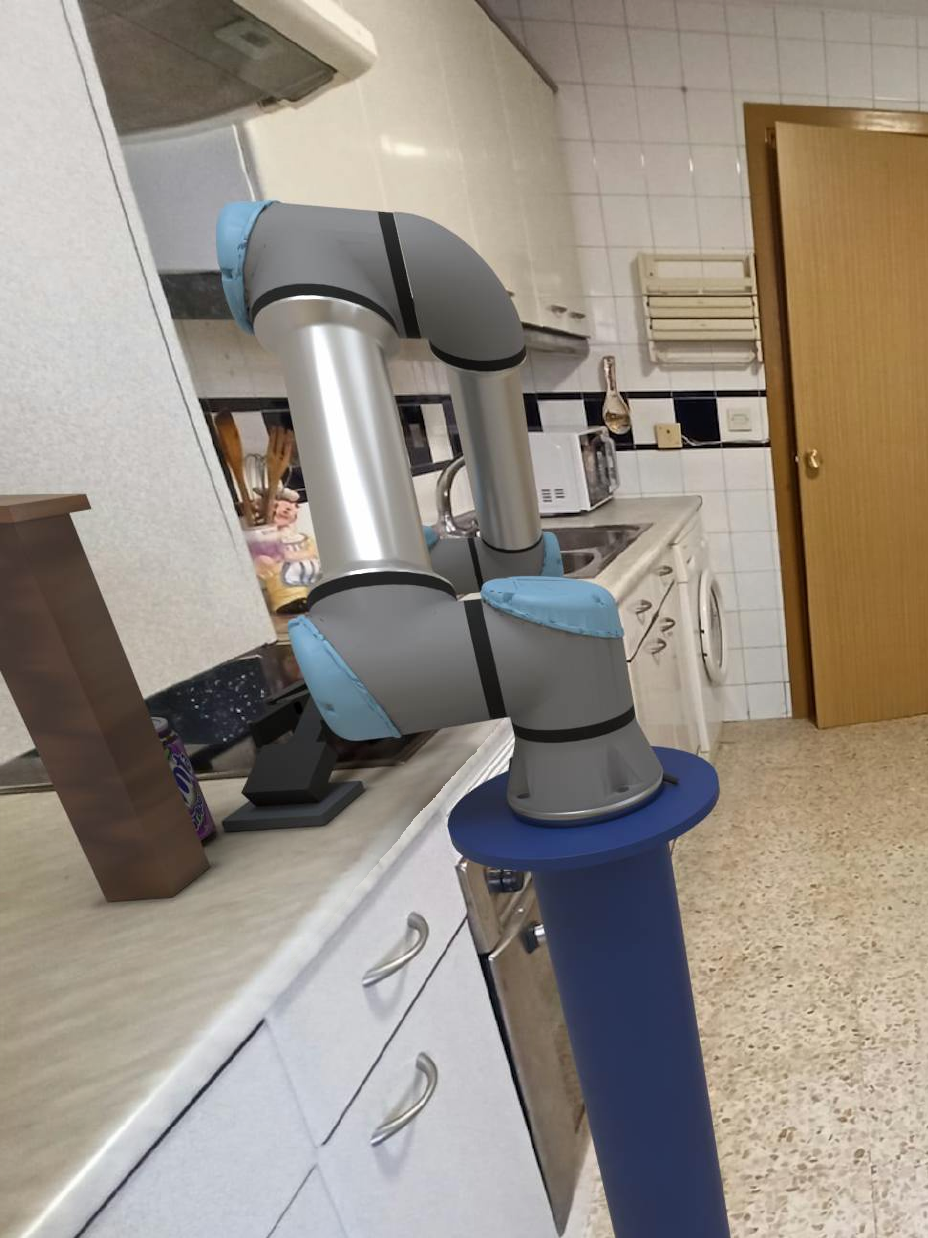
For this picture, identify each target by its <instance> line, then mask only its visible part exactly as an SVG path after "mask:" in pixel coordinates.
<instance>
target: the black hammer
mask: <svg viewBox="0 0 928 1238" xmlns="http://www.w3.org/2000/svg"><path fill="white" fill-rule="evenodd" d="M322 718H323V716H322V715H321V713H320V711H319V709H318V707H317V705H316V703H315V701H314V699H313V697H312V695H310V697H309V700H308V702H307V704H306V707H305V709H304V711H303V713H302V716H301V718H300V719H299V723H298V725H297V727H296V728H295V730H294V732H293V734H292V736H291V739H290V740H289V743H276V744H274V743H273V744H269V745H263V746H262V747H261V748H260V750H259V753H258V755H257V757H256V759H255V762H254V764H253V766H252V768H251V770H250V772H249V775H248V776H247V779H246V781H245V784H244V785H243V788H242V790H241V792H240V794H241V795H243V797H244V798H245V799H247V800H248V801H250V802H251V803H253V804H254V805H255V806H270V805H286V804H302V803H318V802H321V799H322V796H323V794H324V791H325V789H326V786H327V783H329V782H330V779H331V776H332V773H333V771H334V768H335V765H336V763H337V760H338V758H339V754H338V753H337V752H336V751H335V750H334V749H333V747H332V746H331V744H327V742H326V739H325V735H324V732H323V729H322V726H321V723H320V720H321V719H322Z"/></svg>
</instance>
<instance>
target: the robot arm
mask: <svg viewBox="0 0 928 1238" xmlns="http://www.w3.org/2000/svg"><path fill="white" fill-rule="evenodd" d="M215 247H216V257H217V263H218V267H219V269H220V272H221V283H222V288H223V293H224V295H225V298H226V302H227V304H228V308H229V310H230V312H231V315H232V317H233V319H234V320H235V322H236V324H237V325H238V327H239V328H240V329H241V330H242V331H244V333H247V334H249V335H252V336H255V337H256V341H257V342H258V344H259V345H260V346H261V347H262V349H263V350H264V351H265V352H267V353H268V354H269V355H270V356H271V357H273V358H275V359H276V360H277V361H279V362H280V365H281V372H282V375H283V376H282V377H283V381H284V385H285V390H286V397H287V402H288V406H289V411H290V412H289V413H290V418H291V422H292V426H293V432H294V437H295V443H296V447H297V453H298V457H299V462H300V468H301V472H302V478H303V483H304V487H305V488H304V489H305V493H306V499H307V503H308V508H309V513H310V519H311V523H312V529H313V533H314V534H313V535H314V538H315V545H316V549H317V550H316V551H317V554H318V559H319V564H320V565H319V566H320V569H321V575H322V578H320V579H319V580H318V581H317V582H316V583H314V584H313V585H312V586H311V587H310V588H309V589H308V590H307V592H306V596H305V597H306V605H307V612H308V615H305V614H299V615H298V616H297V617H293V618H290V619H289V620H288V622H287V630H288V638H289V642H290V645H291V649H292V652H293V654H294V657H295V660H296V662H297V665H298V668H299V671H300V673H301V676H302V677H303V678H302V679H300V680H298V681H296V682H294V683H293V684H290V685H288V686H287V687H285V688H282V689H281V690H278V691H277V692H275V693H273V694H271V695H269V696H267V697H265V698H263V699H262V700H261V701H262V704H263V707H264V710H265V713H263V714H261V715H260V716H257V717H256V718H254V719H253V720H251V721H249V722H247V726H248V728H249V732H250V734H251V737H252V740H253V742H254V745H255V748H256V749H258V748H260V749H261V748H262V746H263V745H271V744H272V743H273V742H275V741H276V740H278V739H279V738H282V737H283V736H284V735H285V734H288V733H289V732H290V731H292V730H294V729H296V727H297V725H298V723H299V720H300V718H301V716H302V713H303V711H304V709H305V707H306V704H307V702H308V700H309V697H310V695H312V697H313V699H314V701H315V703H316V705H317V707H318V709H319V711H320V713H321V715H322V716H323V718H322V719H321V720H320V723H321V726H322V729H323V732H324V735H325V739H326V742H327V744H329V745H335V744H338V742H339V741H341V740H342V739H344V740H348V741H354V742H355V741H356V742H358V741H368V740H375V739H383V738H392V737H393V738H395V739H400V738H402V737H403V736H404V735H410V734H417V733H422V732H429V731H435V730H440V729H447V728H453V727H459V726H464V725H465V726H466V725H471V724H476V723H482V722H488V721H494V720H500V719H506V718H507V719H508V718H509V719H510V723H511V727H512V731H513V736H514V743H513V749H512V756H511V757H509V760H508V761H509V762H508V769H507V771H509V770H510V769H511V770H510V776H509V783H508V791H507V798H508V802H509V806H510V811H511V814H512V815H513V817H514V818H516V819H517V820H518V821H520V822H522V823H524V824H527V825H531V826H535V827H541V828H553V829H565V828H578V827H586V826H592V825H597V824H602V823H606V822H609V821H613V820H616V819H619V818H622V817H625V816H628V815H630V814H632V813H635V812H637V811H639V810H641V809H643V808H644V807H646V806H648V805H649V804H651V803H652V802H653V801H654V800H656V799H657V798H658V797H659V796H660V794H661V793H662V792H663V790H664V787H665V782H668V783H671V784H674V785H677V784H678V781H679V778H676V777H673V776H670V775H667V774H664V773H663V769H662V766H661V764H660V762H659V760H658V758H657V756H656V754H655V753H654V751H653V749H652V747H651V746H652V745H651V743H650V742H649V740H648V738H647V736H646V735H645V733H644V731H643V729H642V727H641V725H640V724H639V722H638V719H637V715H636V707H635V703H634V696H633V689H632V685H631V679H630V673H629V667H628V660H627V654H626V648H625V643H624V636H625V633H626V632H625V628H624V627H623V625H622V622H621V618H620V617H621V616H620V614H619V608H618V605H617V601H616V599H615V597H614V595H613V594H612V593H611V592H610V590H608V589H607V588H605V587H604V586H602V585H599V584H597V583H594V582H591V581H588V580H582V579H577V578H568V577H564V576H565V572H564V571H565V570H564V565H563V559H562V557H563V556H562V553H561V548H560V544H559V541H558V538H557V535H556V534H555V533H553V532H552V531H543V529H542V521H541V515H540V506H539V501H538V494H537V486H536V479H535V473H534V472H535V471H534V464H533V458H532V457H533V456H532V450H531V443H530V437H529V429H528V422H527V414H526V408H525V401H524V394H523V385H522V380H521V373H520V367H521V366H522V365H524V363H525V361H526V360H527V354H528V353H527V345H526V338H525V333H524V328H523V323H522V321H521V318H520V314H519V312H518V310H517V308H516V306H515V303H514V301H513V299H512V297H511V296H510V294H509V292H508V291H507V288H506V287H505V286H504V284H503V283H502V281H501V279H500V278H499V277H498V275H497V274H496V273H495V271H494V270H493V269H492V267H491V265H489V264H488V262H487V261H486V260H485V259H484V258H483V257H482V256H481V255H480V254H479V253H478V252H477V251H476V250H475V249H474V248H473V247H472V246H471V245H469V244H468V243H467V241H465V240H464V239H463V238H461V237H460V236H459V235H457V234H456V233H454V232H453V231H451V230H450V229H448V228H447V227H445V226H444V225H441V224H440V223H438V222H437V221H435V220H433V219H429V218H427V217H425V216H421V215H418V214H415V213H411V212H403V211H393V212H391V211H379V210H369V209H357V208H347V207H345V208H344V207H333V206H322V205H313V204H312V205H310V204H300V203H299V204H298V203H287V202H281V201H279V200H277V199H276V200H275V199H268V200H264V201H251V200H250V201H245V200H243V201H242V200H238V201H237V200H236V201H232V202H229V203H226V205H224V206H223V207H222V209H221V210H220V212H219V213H218V215H217V220H216V224H215ZM401 339H403V340H404V339H405V340H408V339H411V340H413V339H417V340H421V339H422V340H423V339H427V340H428V344H429V348H430V353H431V354H432V356H433V357H434V358H435V359H436V360H437V361H438V362H440V364H442V365H444V371H445V375H446V379H447V384H448V388H449V393H450V394H449V395H450V398H451V403H452V408H453V413H454V417H455V422H456V426H457V431H458V436H459V441H460V445H461V446H460V447H461V450H462V455H463V459H464V464H465V469H466V473H467V478H468V483H469V487H470V493H471V497H472V498H471V499H472V503H473V508H474V511H475V516H476V521H477V526H478V531H479V535H480V536H472V537H458V538H457V537H456V538H454V537H453V538H439V536H438V535H437V534H436V531H435V529H434V528H433V527H431V526H430V525H425V524H423V521H422V516H421V511H420V507H419V503H418V497H417V493H416V489H415V485H414V478H413V474H412V470H411V466H410V461H409V456H408V452H407V447H406V443H405V438H404V433H403V430H402V425H401V420H400V415H399V410H398V406H397V401H396V397H395V391H394V387H393V383H392V379H391V374H390V370H389V367H390V366H392V365H393V364H394V363H395V362H396V361H397V359H398V358H399V356H400V354H401V348H402V347H401ZM477 593H478V594H479V595H480V598H474V599H463V600H458V597H457V596H460V595H471V594H477ZM664 781H665V782H664Z"/></svg>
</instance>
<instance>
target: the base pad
mask: <svg viewBox="0 0 928 1238" xmlns="http://www.w3.org/2000/svg"><path fill="white" fill-rule="evenodd" d="M364 791H365V787H364V784H363V780H346V781H331V782H330V781H328V783H327V786H326V789H325V791H324V794H323V796H322V799H321V802H318V803H302V804H286V805H270V806H255V805H254V804H253V803H251V802H250V801H249V800H248V801H247V802H246V803H243V805H242V806H240V807H239V808H238V809H237V808H236V810H235V811H233V812H231V813H230V814H229V815H227V816H226V817H224V819H222V820H221V821H220V823H221V826H222V829H223V831H224V832H225V833H228V832H243V831H258V830H274V829H275V830H276V829H291V828H305V827H320V826H326V825H328V823H329V822H330V821H332V820H333V819H334V818H335V817H336V816H337V815H338V814H340V812H342V811H343V810H344V809H345V808H346V807H347V806H348V805H350V804H351V803H352V802H353V801H354V800H355V799H357V798H358V796H360V795H361V794H362V793H363V792H364Z"/></svg>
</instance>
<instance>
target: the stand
mask: <svg viewBox="0 0 928 1238" xmlns="http://www.w3.org/2000/svg"><path fill="white" fill-rule="evenodd" d="M89 510H92V506H91V503H90V500H89V498H88V495H87V493H31V494H30V493H26V494H25V493H24V494H23V493H22V494H0V674H1V676H2V678H3V681H4V682H5V684H6V687H7V689H8V691H9V693H10V695H11V697H12V699H13V702H14V704H15V706H16V708H17V711H18V712H19V716H20V718H21V719H22V721H23V724H24V726H25V728H26V731H27V733H28V734H29V736H30V739H31V741H32V744H33V745H34V747H35V749H36V752H37V754H38V756H39V758H40V760H41V762H42V765H43V767H44V769H45V771H46V774H47V776H48V777H49V780H50V782H51V785H52V786H53V788H54V791H55V793H56V795H57V797H58V799H59V801H60V804H61V805H62V808H63V810H64V812H65V814H66V817H67V819H68V821H69V823H70V825H71V827H72V829H73V832H74V834H75V837H76V838H77V840H78V842H79V845H80V847H81V849H82V851H83V853H84V856H85V857H86V859H87V862H88V864H89V866H90V868H91V870H92V872H93V875H94V878H95V879H96V881H97V884H98V886H99V888H100V890H101V892H102V894H103V896H104V899H105V901H106V902H107V903H109V902H110V903H111V902H112V903H113V902H125V901H138V900H152V899H153V900H154V899H165V898H166V899H167V898H173V897H174V896H176V895H177V894H178V893H179V892H181V891H182V890H184V888H185V887H187V886H189V884H191V883H192V882H193V881H195V880H196V879H197V878H199V876H201V875H203V874H204V873H205V872H206V871H207V870H209V869H210V868H211V866H212V865H211V864H210V861H209V859H208V857H207V853H206V851H205V849H204V847H203V844H202V840H201V841H200V839H199V836H198V834H197V831H196V829H195V826H194V824H193V821H192V819H191V816H190V814H189V811H188V809H187V806H186V804H185V801H184V799H183V796H182V794H181V791H180V789H179V786H178V784H177V781H176V779H175V776H174V774H173V771H172V769H171V766H170V764H169V761H168V759H167V756H166V754H165V751H164V749H163V746H162V744H161V741H160V739H159V736H158V734H157V731H156V729H155V726H154V724H153V721H152V719H151V717H152V716H151V713H150V711H149V708H148V706H147V704H146V701H145V698H144V696H143V694H142V691H141V689H140V687H139V684H138V681H137V680H136V676H135V674H134V672H133V669H132V666H131V664H130V661H129V658H128V657H127V653H126V651H125V649H124V646H123V644H122V641H121V638H120V636H119V633H118V632H117V628H116V626H115V624H114V621H113V618H112V616H111V614H110V611H109V607H108V605H107V604H106V601H105V599H104V596H103V594H102V591H101V589H100V587H99V586H100V585H99V584H98V581H97V578H96V576H95V574H94V571H93V568H92V567H91V564H90V561H89V558H88V555H87V553H86V551H85V549H84V546H83V543H82V541H81V538H80V536H79V534H78V530H77V529H76V526H75V524H74V521H73V519H72V516H71V514H73V513H77V512H83V511H84V512H85V511H89Z"/></svg>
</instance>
